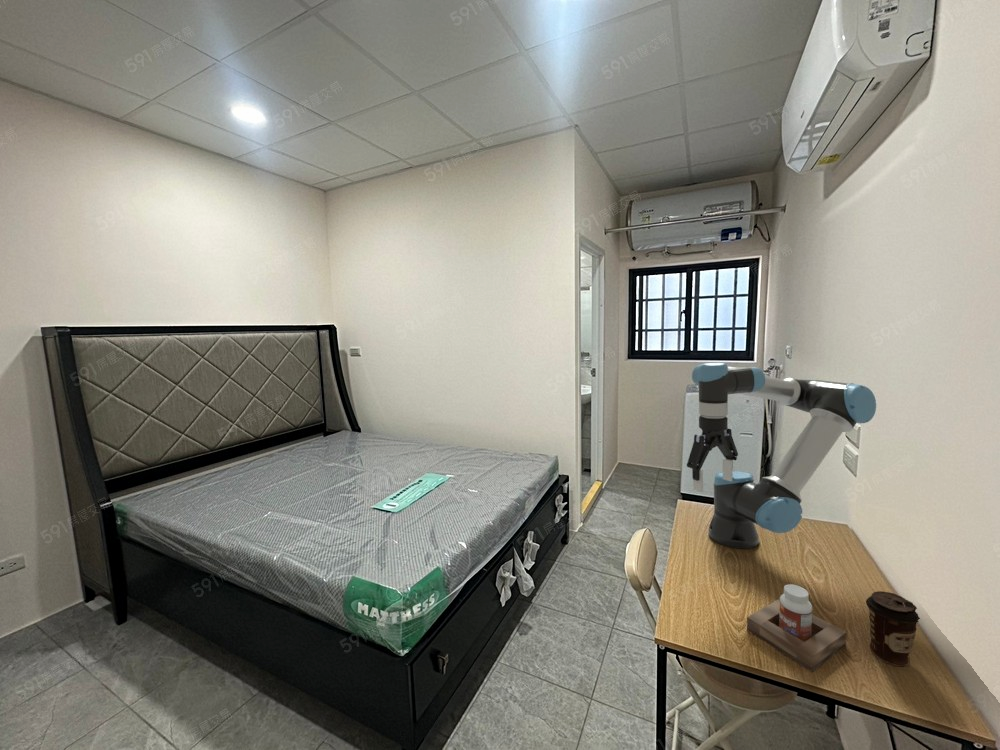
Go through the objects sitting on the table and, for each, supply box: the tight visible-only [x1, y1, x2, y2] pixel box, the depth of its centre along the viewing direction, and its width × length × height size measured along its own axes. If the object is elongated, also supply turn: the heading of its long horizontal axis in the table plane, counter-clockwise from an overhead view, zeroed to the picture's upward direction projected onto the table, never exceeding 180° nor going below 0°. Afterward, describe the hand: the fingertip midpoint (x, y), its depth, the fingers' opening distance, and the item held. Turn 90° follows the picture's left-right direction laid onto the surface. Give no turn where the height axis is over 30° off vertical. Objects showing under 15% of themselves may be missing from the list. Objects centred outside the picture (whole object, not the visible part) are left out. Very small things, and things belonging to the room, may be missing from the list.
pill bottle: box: [779, 583, 813, 642], centre depth 95 cm, size 6×6×11 cm
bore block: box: [746, 598, 847, 672], centre depth 96 cm, size 14×14×4 cm
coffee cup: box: [865, 591, 921, 667], centre depth 89 cm, size 9×8×13 cm
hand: (713, 485), depth 122 cm, fingers open, 13 cm apart
